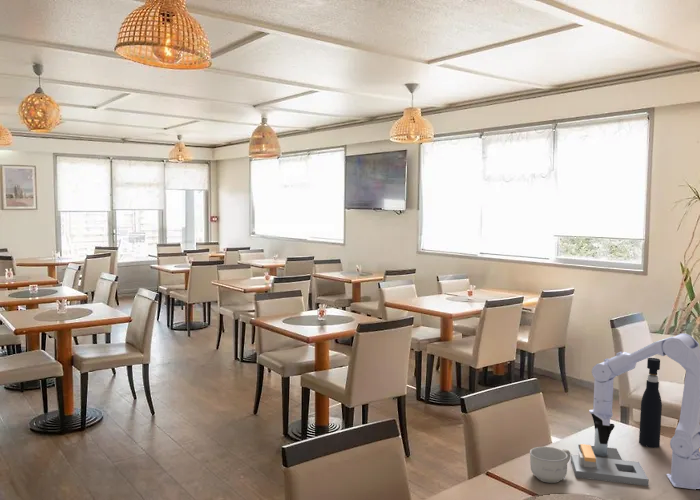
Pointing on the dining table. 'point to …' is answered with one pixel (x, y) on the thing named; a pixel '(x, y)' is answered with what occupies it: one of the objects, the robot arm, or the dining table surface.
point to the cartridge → (599, 446)
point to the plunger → (587, 453)
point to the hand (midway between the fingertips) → (601, 439)
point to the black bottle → (651, 408)
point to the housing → (609, 470)
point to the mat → (608, 453)
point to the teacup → (549, 463)
